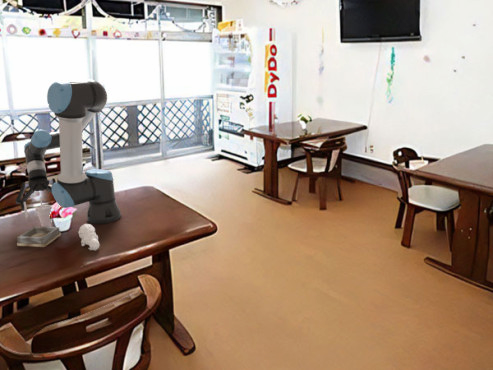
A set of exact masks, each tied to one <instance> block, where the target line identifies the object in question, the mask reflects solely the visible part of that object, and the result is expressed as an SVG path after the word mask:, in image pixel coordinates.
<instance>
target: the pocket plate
mask: <svg viewBox="0 0 493 370" xmlns="http://www.w3.org/2000/svg"><path fill="white" fill-rule="evenodd" d="M61 235H62V232H60V227H57V226H51V227H42V226H39V225H38V226H36V225H35V226H32V227H31V228H29V229H28V230H26V231H24V232H23V233H22V234H20V235H19V236H17V237H16V241H17V243H16V245H17V247H34V248H35V247H36V248H39V247H40V248H45V247H47V246H48V245H50V244H51V243H52V242H54V240H56V239H57V238H58V237H60V236H61Z"/></svg>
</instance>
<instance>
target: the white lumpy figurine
mask: <svg viewBox="0 0 493 370" xmlns="http://www.w3.org/2000/svg"><path fill="white" fill-rule="evenodd" d="M78 235H79V236H78V237H79V238H80V239H81V241H80V243H81V247H84V246H86V245H87V246H89V247H87V248H88V250H90V251H97V250H98V249H99V248H100V246H101V244H100V242H99V236H98V234H97V233H96V228H95V227H94V226H93V225H92V224H91V223H84V224H82V225H81V226H80V227H79V229H78Z"/></svg>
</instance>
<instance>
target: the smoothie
mask: <svg viewBox="0 0 493 370" xmlns="http://www.w3.org/2000/svg"><path fill="white" fill-rule="evenodd" d="M39 201H40V204H39V205H38V206H36V207H35V211H36V213H37V215H38V218H39V221H40V225H41V226H40V227H52V218H51V219H50V217H49V215H50V212H51V213H52V205H50V204H43V201H42V197H39Z"/></svg>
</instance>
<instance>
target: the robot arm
mask: <svg viewBox="0 0 493 370" xmlns="http://www.w3.org/2000/svg"><path fill="white" fill-rule="evenodd" d="M107 94H108V93H107V90H106V89H105V87H104V86H103V85H102V84H101V82H99V81H97V80H94V79H90V78H89V79H88V78H87V79H77V80H76V79H75V80H62V81H55V82H53V83H51V85H50V86H49V87H48V89H47V94H46V98H47V99H46V100H47V104H48V108H49V109H50V111H51V112H53V114H54V116H55V117H56V118H57V119H58V130H59V131H53V132H48V130H44V129H38V130H36V131H35V132H34V133H33V135H32V136H31V138H30V141H28V142H26V143H25V144H24V147H23V149H24V150H23V152H24V156H25V163H26V168H27V169H26V170H27V173H28V175H27V176H28V182H26V183H25V182H24V181H22V182H21V188H20V190H19V192H18V194H17V196H16V198H15V202H16V203H15V204H17V205H20V207H21V210H22V212H23V211H24V215H25V218H26V219H28V218H29V215H28V209H27V208H28V207H27V203H26V202H27V201H28V200H29V198H31V196H32V195H33V194H34V193H35V192H42V191H47V192H49V193H50V194H52V196H53V199H54V200H55V202H56V203H57V204H59V205H60V206H61V208H64V209H69V208H72V207H75V206H79V205H82V204H85V203H88V207H87V208H88V209H87V214H86V220H87V222H88V223H89V224H94V225H100V224H101V225H102V224H110V223H113V222H116V221H117V220H120V218H121V217H122V212H121V209H120V207H119V206H118V203H117V201H116V192H115V185H114V176H113V174H112V171H110V170H108V169H100V168H99V169H98V168H97V169H96V168H95V169H87V170H85V171H83V165H84V164H83V163H84V162H83V130H84V129H85V128H86V126H88V124H89V123H90V122H91V120H92V119H93V118H94V117H95V115H96V114H99V113H100V112H101V111H102V110H103V109H105V106H106V105H107V102H108V101H107V100H108V95H107ZM54 149H59V155H60V156H59V158H60V159H59V160H60V162H59V163H60V173H58V174H57V175H56V179H55V178H52V179H50V180H48V175H47V170H46V163H45V159H44V158H45V154H46V153H47V151H48V150H54ZM50 184H51V186H50ZM28 188H29V189H28ZM26 189H28V190H27V192H26V193H25V191H26ZM59 205H58V206H59Z"/></svg>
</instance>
